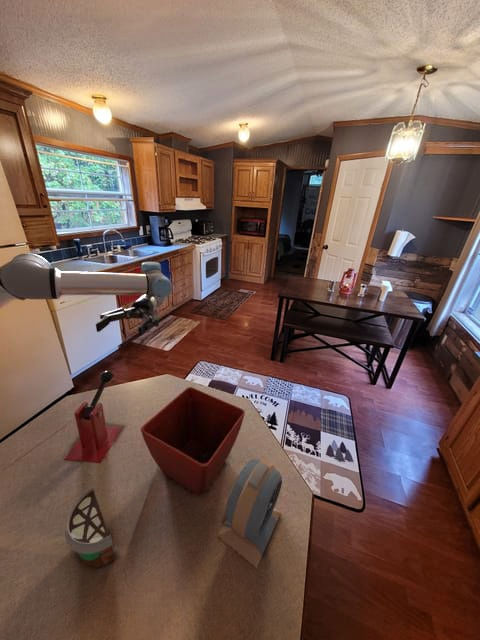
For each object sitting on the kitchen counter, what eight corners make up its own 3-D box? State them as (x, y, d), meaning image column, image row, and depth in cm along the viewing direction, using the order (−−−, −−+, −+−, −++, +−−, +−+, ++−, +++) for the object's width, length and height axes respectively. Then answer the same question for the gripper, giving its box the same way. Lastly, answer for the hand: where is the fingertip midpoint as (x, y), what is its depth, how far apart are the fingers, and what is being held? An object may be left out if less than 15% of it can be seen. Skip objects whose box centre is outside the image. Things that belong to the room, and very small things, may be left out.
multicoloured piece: (67, 533, 53) (57, 504, 49) (99, 513, 57) (92, 484, 53) (81, 596, 45) (71, 566, 41) (117, 567, 49) (111, 537, 45)
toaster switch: (90, 427, 79) (83, 391, 73) (122, 430, 79) (117, 394, 73) (64, 462, 68) (53, 423, 62) (101, 465, 68) (94, 427, 62)
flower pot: (143, 476, 66) (138, 428, 59) (189, 427, 82) (189, 385, 75) (203, 517, 58) (205, 467, 52) (241, 455, 74) (246, 410, 67)
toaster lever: (105, 374, 78) (101, 368, 76) (116, 375, 78) (113, 369, 76) (83, 420, 69) (77, 415, 66) (96, 421, 69) (91, 416, 66)
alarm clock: (254, 573, 50) (265, 519, 43) (214, 540, 54) (218, 486, 47) (282, 509, 61) (294, 458, 54) (247, 486, 66) (254, 436, 59)
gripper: (176, 318, 101) (158, 343, 82) (114, 312, 101) (81, 336, 82) (175, 300, 98) (156, 322, 79) (112, 295, 98) (77, 315, 79)
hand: (118, 330), depth 80 cm, fingers open, 13 cm apart
